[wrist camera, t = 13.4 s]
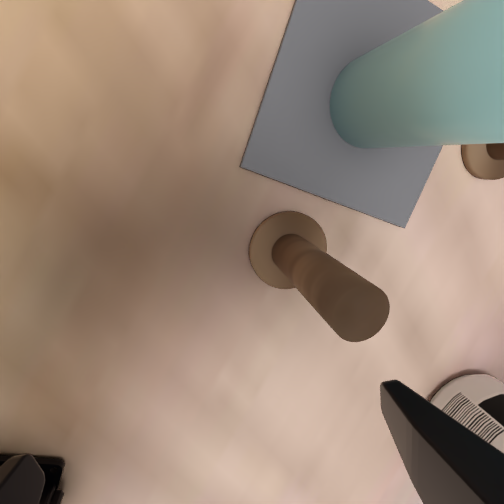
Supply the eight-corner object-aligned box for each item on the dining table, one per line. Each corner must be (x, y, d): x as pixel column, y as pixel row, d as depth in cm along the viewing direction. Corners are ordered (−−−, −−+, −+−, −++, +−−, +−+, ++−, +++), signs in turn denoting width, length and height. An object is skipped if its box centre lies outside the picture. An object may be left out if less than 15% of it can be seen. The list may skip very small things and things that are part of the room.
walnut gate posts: (268, 298, 21) (326, 391, 13) (235, 233, 20) (279, 292, 11) (527, 159, 23) (733, 162, 14) (519, 88, 21) (748, 42, 12)
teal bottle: (321, 139, 19) (672, 99, 5) (341, 44, 17) (867, -316, 4) (393, 155, 20) (823, 154, 7) (417, 67, 19) (1005, -149, 5)
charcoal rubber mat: (239, 166, 18) (241, 166, 18) (317, -65, 16) (320, -71, 16) (400, 226, 22) (404, 228, 22) (484, 44, 20) (490, 42, 19)
